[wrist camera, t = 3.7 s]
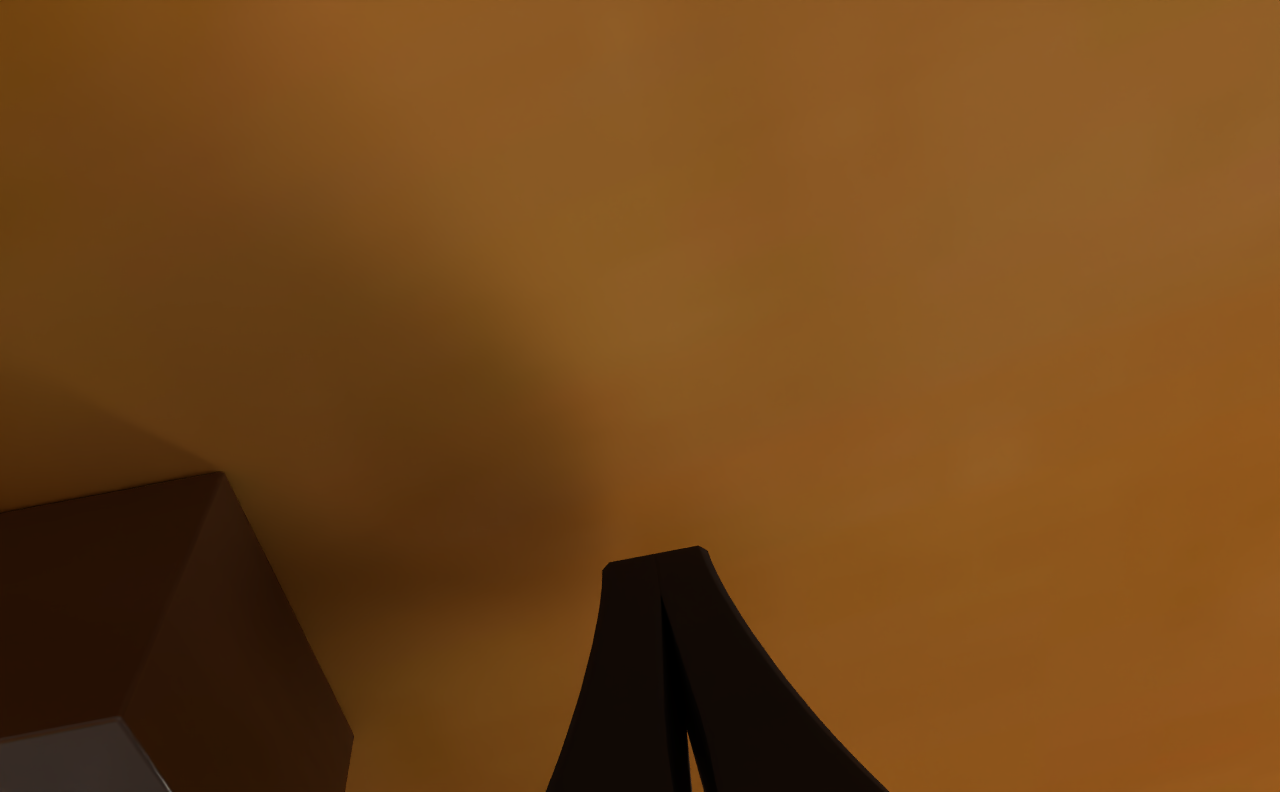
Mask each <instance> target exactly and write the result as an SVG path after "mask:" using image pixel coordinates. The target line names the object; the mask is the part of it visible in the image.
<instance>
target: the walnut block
mask: <svg viewBox="0 0 1280 792" xmlns="http://www.w3.org/2000/svg"><path fill="white" fill-rule="evenodd" d="M353 740H354V735H353V733H352V730H351V728H350V726H349V724H348V722H347V720H346V718H345V716H344V714H343V712H342V710H341V708H340V706H339V704H338V702H337V700H336V698H335V696H334V694H333V692H332V690H331V688H330V686H329V684H328V682H327V680H326V678H325V676H324V674H323V672H322V670H321V668H320V666H319V664H318V662H317V660H316V658H315V656H314V654H313V652H312V650H311V648H310V646H309V643H308V641H307V639H306V637H305V635H304V633H303V631H302V629H301V627H300V625H299V623H298V621H297V619H296V617H295V615H294V613H293V611H292V609H291V607H290V605H289V603H288V601H287V599H286V597H285V595H284V593H283V591H282V589H281V587H280V585H279V583H278V581H277V579H276V577H275V575H274V573H273V571H272V569H271V567H270V565H269V563H268V561H267V559H266V557H265V554H264V552H263V550H262V548H261V546H260V544H259V542H258V540H257V538H256V536H255V534H254V532H253V530H252V528H251V526H250V524H249V522H248V520H247V518H246V516H245V514H244V512H243V510H242V508H241V506H240V504H239V502H238V500H237V498H236V496H235V494H234V492H233V490H232V488H231V486H230V484H229V482H228V480H227V478H226V476H225V474H224V473H223V472H217V473H212V474H206V475H201V476H196V477H190V478H185V479H180V480H175V481H169V482H164V483H159V484H153V485H148V486H143V487H138V488H132V489H127V490H122V491H116V492H111V493H106V494H101V495H95V496H90V497H85V498H79V499H74V500H69V501H64V502H58V503H53V504H48V505H42V506H37V507H32V508H27V509H21V510H16V511H11V512H5V513H0V792H345V787H346V782H347V776H348V770H349V764H350V758H351V752H352V746H353Z"/></svg>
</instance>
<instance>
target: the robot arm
mask: <svg viewBox="0 0 1280 792" xmlns="http://www.w3.org/2000/svg"><path fill="white" fill-rule="evenodd" d="M687 732H688V735H689V739H690V743H691V746H692V750H693V753H694V757H695V760H696V764H697V768H698V771H699V775H700V778H701V782H702V785H703V789H704V792H889V791H888V790H887V789H886V788H885V787H884V786H883V785H882V784H881V783H880V782H879V781H878V780H877V779H876V778H875V777H874V776H873V775H872V774H871V773H870V772H869V771H868V770H867V769H866V768H865V767H864V766H863V765H862V764H861V763H860V762H859V761H858V760H857V759H856V758H855V757H854V756H853V755H852V754H851V753H850V752H849V751H848V750H847V749H846V748H845V747H844V745H843V744H842V743H841V742H840V741H839V740H838V739H837V738H836V737H835V736H834V735H833V734H832V733H831V731H830V730H829V729H828V728H827V727H826V726H825V725H824V724H823V722H822V721H821V720H820V719H819V718H818V717H817V716H816V714H815V713H814V712H813V711H812V710H811V709H810V707H809V706H808V705H807V704H806V702H805V701H804V700H803V699H802V698H801V696H800V695H799V694H798V693H797V692H796V690H795V689H794V688H793V687H792V685H791V684H790V683H789V682H788V680H787V679H786V678H785V676H784V675H783V674H782V673H781V671H780V670H779V669H778V667H777V666H776V665H775V663H774V662H773V661H772V659H771V658H770V656H769V655H768V654H767V652H766V651H765V649H764V648H763V647H762V645H761V644H760V642H759V641H758V640H757V638H756V637H755V635H754V634H753V633H752V631H751V630H750V628H749V627H748V625H747V624H746V622H745V621H744V619H743V618H742V616H741V614H740V613H739V611H738V609H737V608H736V606H735V605H734V603H733V601H732V600H731V598H730V596H729V595H728V593H727V591H726V589H725V588H724V586H723V584H722V582H721V580H720V578H719V576H718V574H717V572H716V570H715V568H714V566H713V564H712V561H711V559H710V556H709V554H708V551H707V550H705V549H703V548H702V547H700V546H694V547H689V548H683V549H678V550H673V551H667V552H662V553H657V554H652V555H646V556H641V557H636V558H630V559H625V560H620V561H614V562H609V563H608V565H607V566H606V567H605V568H604V569H603V570H602V590H601V599H600V607H599V613H598V619H597V624H596V629H595V634H594V639H593V644H592V648H591V652H590V656H589V660H588V664H587V668H586V672H585V676H584V680H583V684H582V687H581V691H580V695H579V698H578V701H577V705H576V708H575V711H574V714H573V717H572V720H571V723H570V726H569V729H568V732H567V735H566V738H565V741H564V744H563V747H562V750H561V753H560V756H559V758H558V761H557V764H556V766H555V769H554V772H553V774H552V777H551V779H550V782H549V785H548V787H547V790H546V792H692V786H691V774H690V763H689V751H688V740H687Z"/></svg>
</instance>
